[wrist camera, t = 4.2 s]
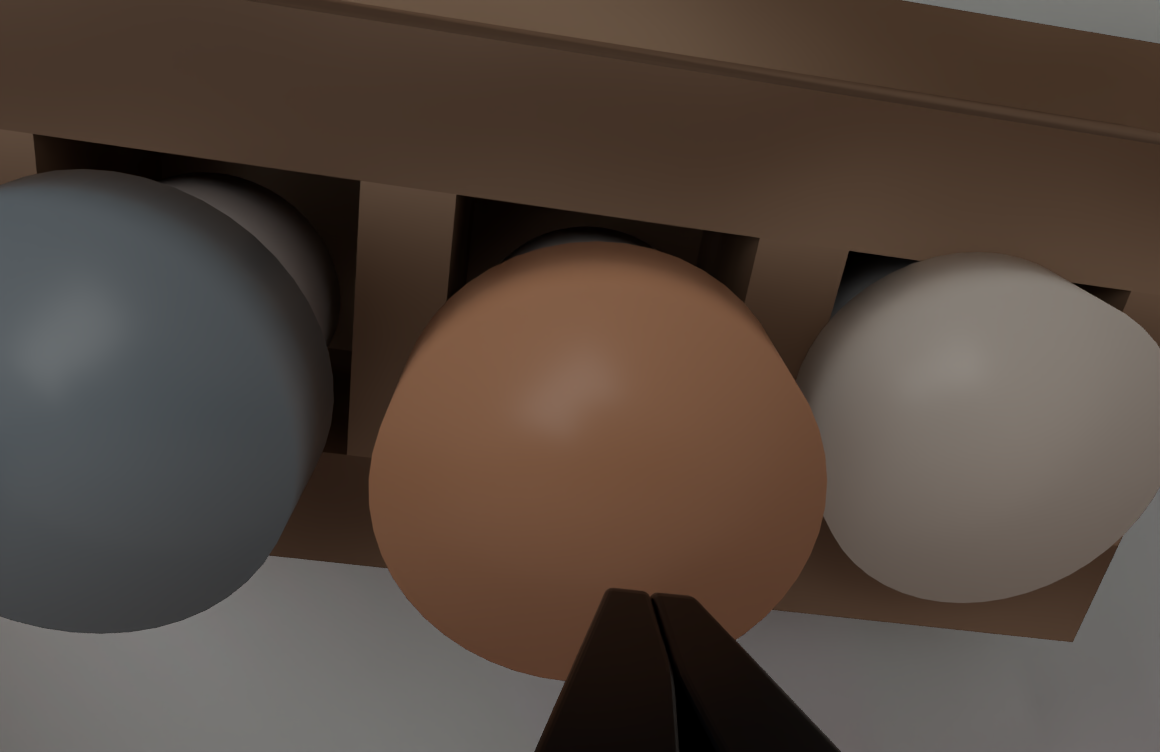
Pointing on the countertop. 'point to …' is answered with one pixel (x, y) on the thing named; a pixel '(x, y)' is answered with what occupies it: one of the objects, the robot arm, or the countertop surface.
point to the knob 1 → (153, 391)
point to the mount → (618, 172)
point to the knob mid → (592, 451)
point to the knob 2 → (980, 423)
